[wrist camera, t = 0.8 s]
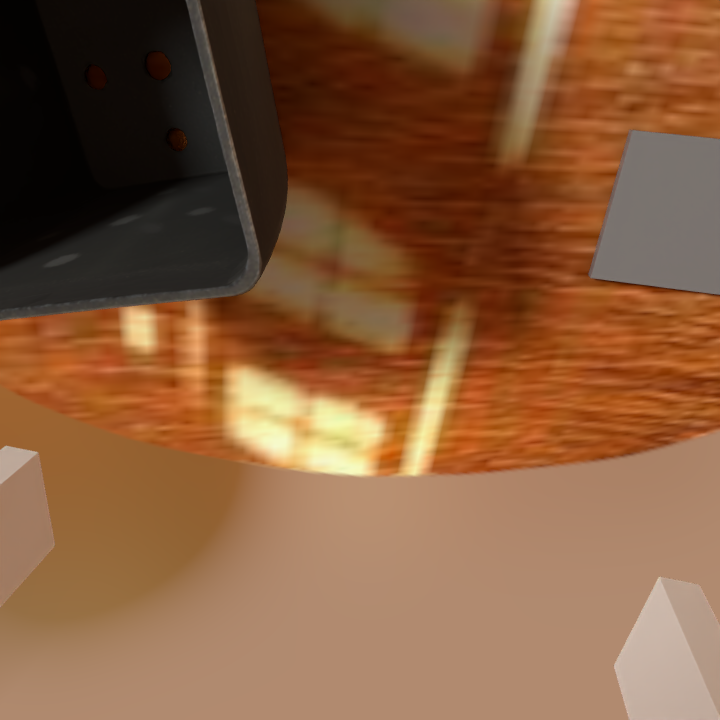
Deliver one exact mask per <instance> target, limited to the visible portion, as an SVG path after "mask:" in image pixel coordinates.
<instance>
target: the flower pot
mask: <svg viewBox="0 0 720 720" xmlns="http://www.w3.org/2000/svg"><path fill="white" fill-rule="evenodd" d="M152 51H161V52H163V53H164V54H165V56H166V57H167V58H168V59H169V62H170V64H171V72H170V74H169V75H168V77H167V78H166V79H164V80H161V81H160V80H156V79H153V78H152V77H151V76H150V75H149V74H148V72H147V70H146V67H145V59H146V56H147V54H148V53H149V52H152ZM91 64H93V65H96V66H99V67H100V68H101V69H102V70H103V72H104V73H105V75H106V77H107V83H106V84H105V86H104V88H103V89H100V90H97V89H93V88H91V87H90V86H89V85H88V84H87V82H86V79H85V70H86V68H87V67H88V66H89V65H91ZM171 128H178V129H180V130H182V131H183V133H184V134H185V136H186V138H187V141H188V143H187V146H186V148H185V149H184V150H182V151H179V152H178V151H175V150H172V149H171V148H170V147H169V145H168V143H167V141H166V134H167V132H168V130H169V129H171ZM287 182H288V175H287V164H286V156H285V151H284V146H283V141H282V136H281V131H280V126H279V121H278V116H277V111H276V105H275V100H274V95H273V90H272V85H271V80H270V75H269V70H268V64H267V59H266V54H265V48H264V43H263V38H262V32H261V27H260V22H259V16H258V11H257V6H256V1H255V0H0V321H1V320H9V319H18V318H27V317H36V316H45V315H54V314H63V313H72V312H81V311H90V310H99V309H108V308H118V307H128V306H137V305H147V304H157V303H168V302H178V301H189V300H199V299H209V298H219V297H228V296H236V295H240V294H243V293H245V292H247V291H249V290H251V289H252V288H253V287H254V286H255V284H256V283H257V281H258V280H259V278H260V277H261V275H262V273H263V271H264V269H265V267H266V265H267V263H268V261H269V259H270V257H271V254H272V252H273V249H274V247H275V244H276V241H277V239H278V236H279V233H280V230H281V226H282V222H283V218H284V214H285V208H286V201H287V189H288V183H287Z"/></svg>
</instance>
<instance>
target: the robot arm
mask: <svg viewBox="0 0 720 720" xmlns="http://www.w3.org/2000/svg"><path fill="white" fill-rule="evenodd" d="M54 546H55V542H54V536H53V531H52V525H51V520H50V514H49V508H48V503H47V498H46V492H45V486H44V481H43V475H42V470H41V464H40V459H39V453H38V452H34V451H29V450H24V449H19V448H14V447H9V446H5V447H4V448H2V449H1V450H0V607H1V606H2V605H3V604H4V603H5V602H6V600H7V599H8V598H9V597H10V596H11V595H12V594H13V593H14V591H15V590H16V589H17V588H18V587H19V586H20V584H21V583H22V582H23V581H24V580H25V579H26V578H27V577H28V576H29V575H30V573H31V572H32V571H33V570H34V569H35V568H36V567H37V566H38V564H39V563H40V562H41V561H42V560H43V559H44V558H45V557H46V555H47V554H48V553H49V552H50V551H51V550H52V549H53V548H54ZM614 668H615V672H616V675H617V679H618V682H619V686H620V689H621V693H622V696H623V700H624V703H625V707H626V711H627V714H628V718H629V720H720V624H719V622H718V620H717V618H716V616H715V615H714V613H713V610H712V608H711V607H710V604H709V602H708V601H707V599H706V597H705V595H704V593H703V591H702V589H701V587H700V585H699V584H695V583H689V582H684V581H680V580H674V579H670V578H664V577H660V576H659V578H658V580H657V582H656V584H655V586H654V588H653V590H652V592H651V594H650V596H649V598H648V599H647V601H646V603H645V605H644V607H643V609H642V612H641V613H640V615H639V617H638V619H637V622H636V623H635V625H634V627H633V629H632V631H631V633H630V635H629V637H628V639H627V641H626V643H625V645H624V647H623V649H622V651H621V653H620V655H619V657H618V659H617V660H616V662H615V664H614Z"/></svg>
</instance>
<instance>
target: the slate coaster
mask: <svg viewBox="0 0 720 720" xmlns="http://www.w3.org/2000/svg"><path fill="white" fill-rule="evenodd" d="M588 275H589V277H590V278H595V279H602V280H610V281H618V282H626V283H633V284H641V285H649V286H656V287H664V288H672V289H679V290H687V291H695V292H702V293H710V294H718V295H720V139H715V138H705V137H695V136H686V135H676V134H666V133H657V132H647V131H637V130H629V133H628V137H627V140H626V144H625V147H624V151H623V154H622V158H621V161H620V165H619V169H618V172H617V176H616V179H615V183H614V186H613V190H612V193H611V197H610V200H609V204H608V207H607V211H606V214H605V218H604V221H603V225H602V229H601V232H600V236H599V239H598V243H597V246H596V250H595V253H594V257H593V260H592V264H591V267H590V271H589V274H588Z"/></svg>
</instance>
